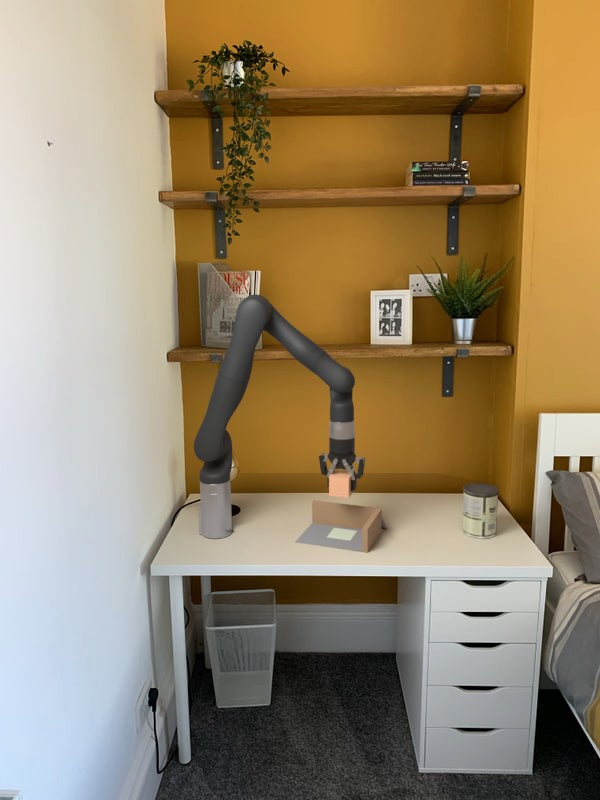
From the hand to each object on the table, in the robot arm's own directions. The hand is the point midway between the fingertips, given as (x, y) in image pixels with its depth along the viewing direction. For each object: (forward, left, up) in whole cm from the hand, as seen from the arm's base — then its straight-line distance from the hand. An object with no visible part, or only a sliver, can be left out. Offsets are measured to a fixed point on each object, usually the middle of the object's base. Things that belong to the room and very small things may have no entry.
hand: (342, 489), depth 185 cm
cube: (0, 0, -1) cm, 1 cm away
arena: (-1, -1, -15) cm, 15 cm away
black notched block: (+7, +14, -16) cm, 22 cm away
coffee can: (+38, +18, -15) cm, 45 cm away
